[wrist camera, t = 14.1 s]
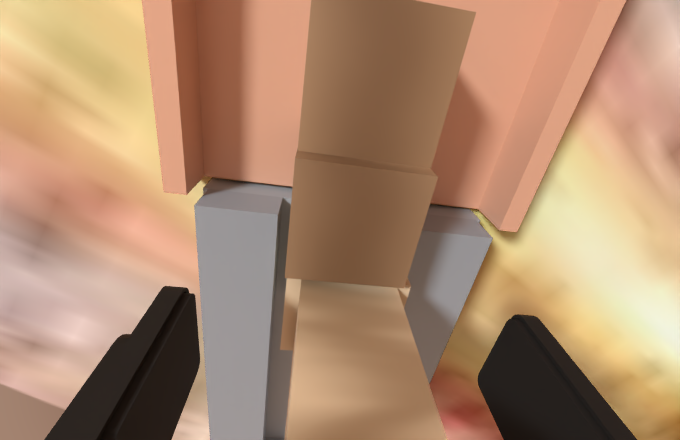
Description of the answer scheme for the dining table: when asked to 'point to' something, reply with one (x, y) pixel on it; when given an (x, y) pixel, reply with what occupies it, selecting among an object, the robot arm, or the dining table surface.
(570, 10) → the tray
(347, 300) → the pale wooden block
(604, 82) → the dining table surface
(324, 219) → the walnut cube
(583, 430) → the robot arm
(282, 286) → the slot board
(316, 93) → the walnut cube
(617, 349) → the dining table surface
